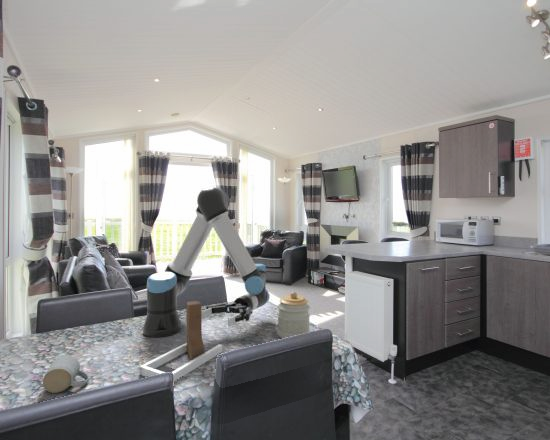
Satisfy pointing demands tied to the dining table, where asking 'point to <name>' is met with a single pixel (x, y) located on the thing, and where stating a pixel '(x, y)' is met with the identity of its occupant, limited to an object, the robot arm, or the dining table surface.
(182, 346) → the channel
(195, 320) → the wooden block
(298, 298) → the jar
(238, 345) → the dining table surface
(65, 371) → the ceramic mug
